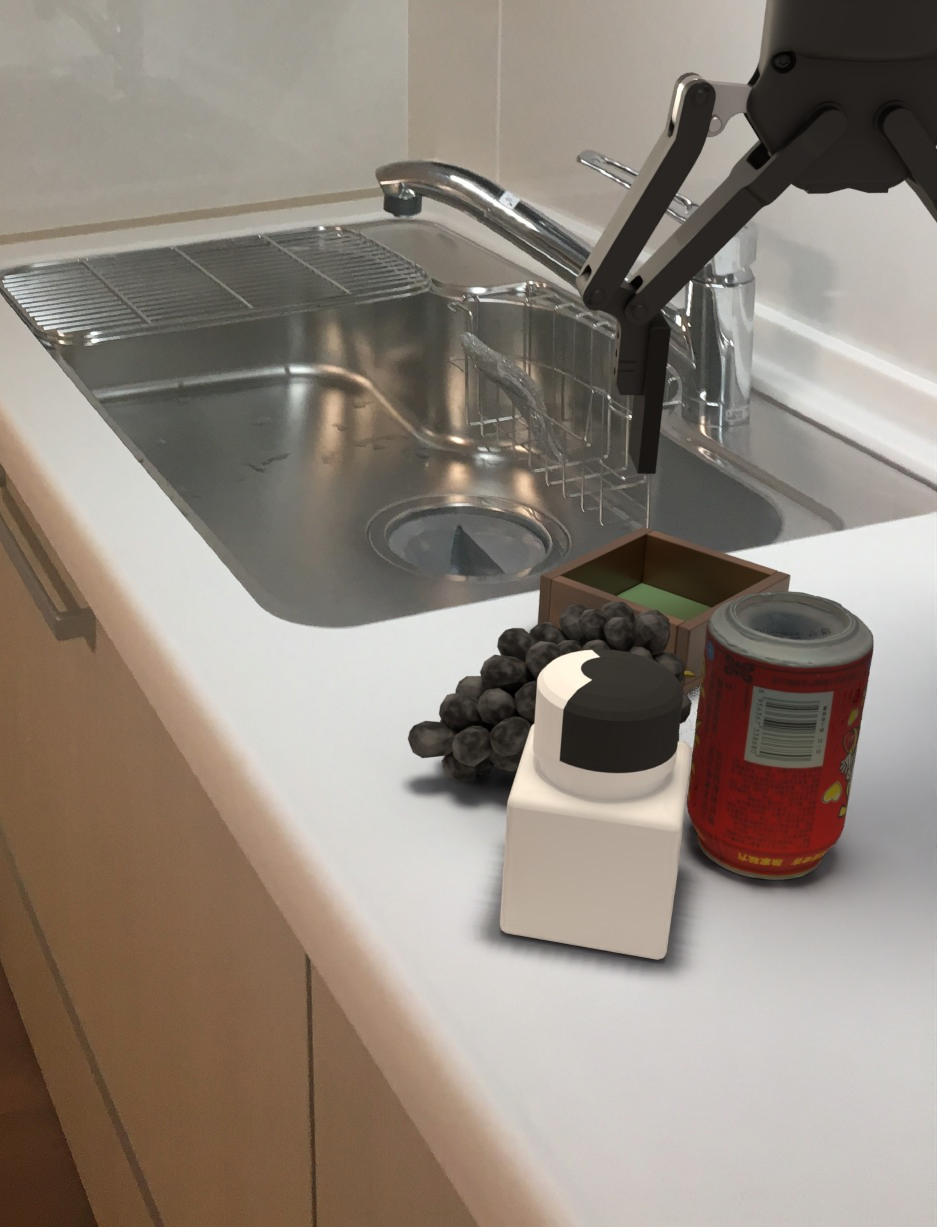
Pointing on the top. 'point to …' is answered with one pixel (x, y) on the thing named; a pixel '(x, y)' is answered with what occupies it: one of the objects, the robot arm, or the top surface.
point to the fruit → (531, 686)
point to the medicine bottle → (598, 806)
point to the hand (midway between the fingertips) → (800, 464)
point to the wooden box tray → (658, 586)
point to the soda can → (777, 731)
